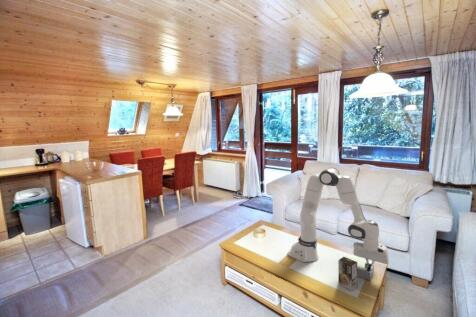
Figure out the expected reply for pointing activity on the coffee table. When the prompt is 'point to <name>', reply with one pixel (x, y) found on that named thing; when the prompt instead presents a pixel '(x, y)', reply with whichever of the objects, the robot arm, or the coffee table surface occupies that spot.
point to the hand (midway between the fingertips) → (370, 265)
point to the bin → (366, 273)
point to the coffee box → (347, 273)
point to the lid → (359, 263)
